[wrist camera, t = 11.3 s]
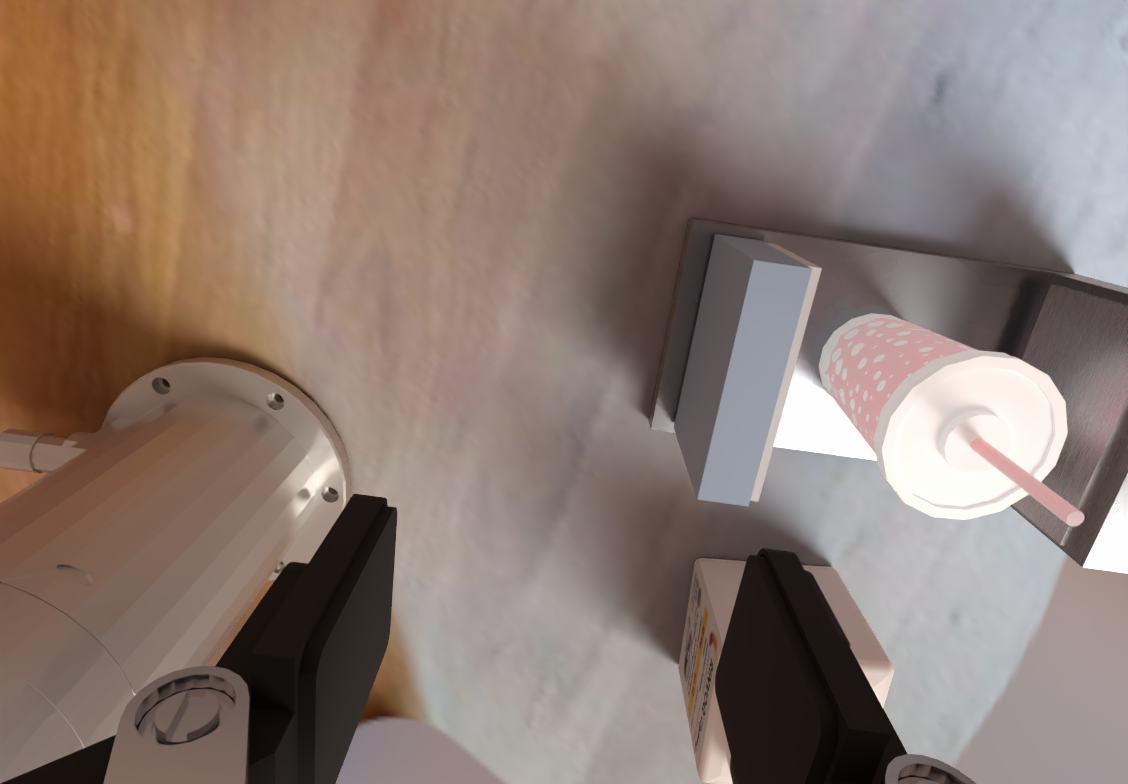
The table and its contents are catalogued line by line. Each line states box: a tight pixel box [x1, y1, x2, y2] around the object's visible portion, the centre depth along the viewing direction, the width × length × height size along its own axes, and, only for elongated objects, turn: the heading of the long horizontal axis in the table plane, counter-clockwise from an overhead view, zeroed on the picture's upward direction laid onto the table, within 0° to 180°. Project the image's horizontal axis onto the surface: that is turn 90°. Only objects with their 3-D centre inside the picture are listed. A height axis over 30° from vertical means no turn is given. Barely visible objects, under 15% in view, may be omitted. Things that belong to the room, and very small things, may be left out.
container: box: [678, 558, 894, 784], centre depth 32 cm, size 8×8×13 cm
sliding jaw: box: [674, 234, 822, 507], centre depth 28 cm, size 2×9×7 cm, turn 172°
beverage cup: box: [819, 313, 1084, 526], centre depth 25 cm, size 6×6×14 cm
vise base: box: [649, 218, 1128, 573], centre depth 28 cm, size 18×10×9 cm, turn 82°
